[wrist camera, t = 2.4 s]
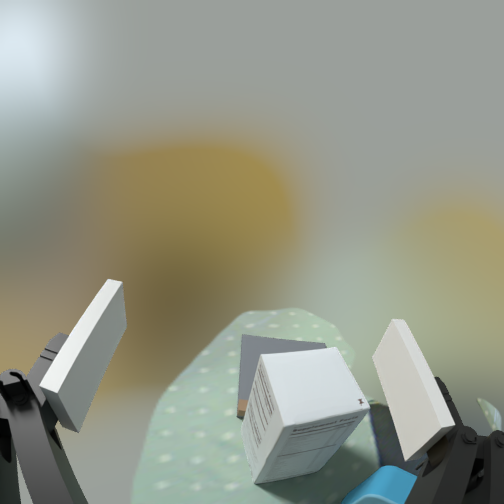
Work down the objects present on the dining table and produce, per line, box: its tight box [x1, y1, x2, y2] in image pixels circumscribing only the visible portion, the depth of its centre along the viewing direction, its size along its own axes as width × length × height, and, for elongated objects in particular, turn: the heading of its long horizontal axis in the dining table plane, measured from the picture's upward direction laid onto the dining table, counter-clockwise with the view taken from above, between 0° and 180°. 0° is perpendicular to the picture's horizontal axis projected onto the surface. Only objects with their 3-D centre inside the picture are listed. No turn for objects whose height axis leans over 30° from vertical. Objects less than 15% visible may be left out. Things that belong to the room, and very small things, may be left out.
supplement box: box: [241, 347, 370, 484], centre depth 32 cm, size 10×9×17 cm
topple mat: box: [237, 334, 326, 418], centre depth 48 cm, size 18×16×2 cm
